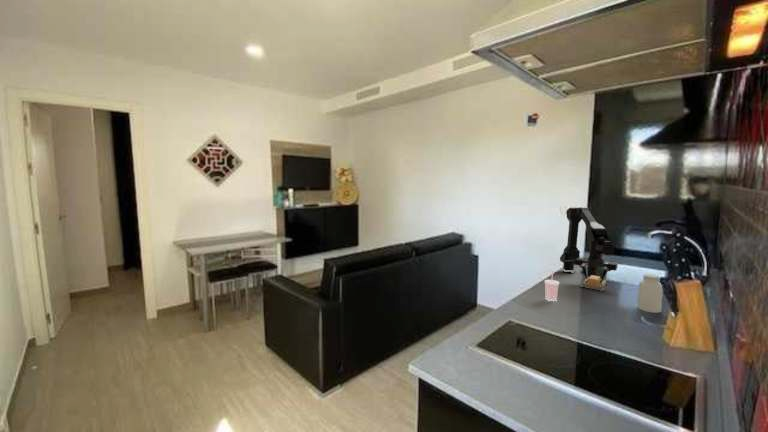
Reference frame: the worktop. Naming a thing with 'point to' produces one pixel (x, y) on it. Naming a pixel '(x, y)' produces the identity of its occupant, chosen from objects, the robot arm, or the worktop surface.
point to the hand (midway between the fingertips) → (594, 280)
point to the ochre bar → (594, 280)
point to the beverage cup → (551, 289)
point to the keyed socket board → (594, 285)
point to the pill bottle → (650, 294)
